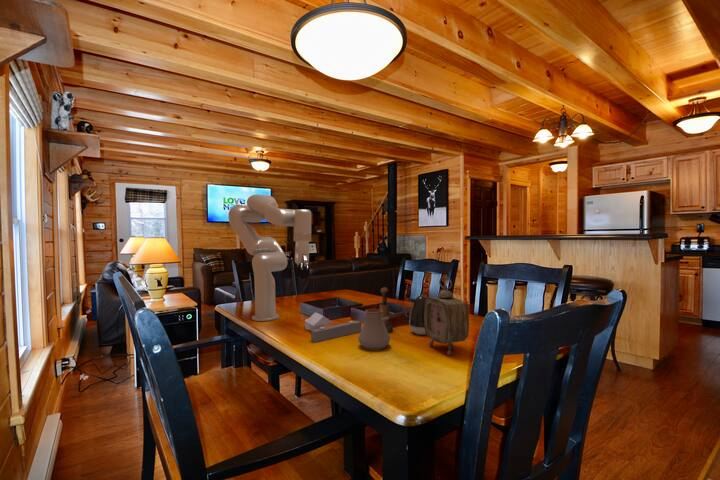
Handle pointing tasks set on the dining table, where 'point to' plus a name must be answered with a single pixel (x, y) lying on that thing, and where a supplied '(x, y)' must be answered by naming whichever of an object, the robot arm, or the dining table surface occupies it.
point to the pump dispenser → (417, 315)
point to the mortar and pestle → (385, 310)
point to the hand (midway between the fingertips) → (302, 277)
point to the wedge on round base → (316, 322)
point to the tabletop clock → (446, 318)
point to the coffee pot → (375, 330)
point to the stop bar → (335, 331)
